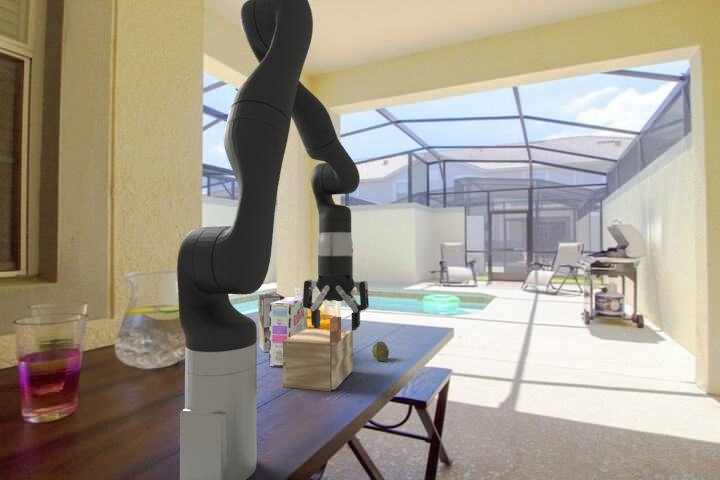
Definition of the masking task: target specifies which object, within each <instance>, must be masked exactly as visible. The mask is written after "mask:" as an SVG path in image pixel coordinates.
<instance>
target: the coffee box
mask: <svg viewBox="0 0 720 480" xmlns="http://www.w3.org/2000/svg"><path fill="white" fill-rule="evenodd" d="M257 299H258V303H257V304H258V308H257V309H258V312H257V313H258V315H257V316H258V330H257V331H258V333H257V335H258V336H257V337H258V338H257V341H258V343H257V347H258V348H259V349H260V350H261V351H262V352H263V353H269V334H270V333H269V332H270V330H269V328H270V303H273V302H276V301H280V300H283V299H285V296H284V295H281V294H278V293H267V294H258V297H257Z"/></svg>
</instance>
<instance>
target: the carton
mask: <svg viewBox="0 0 720 480" xmlns="http://www.w3.org/2000/svg"><path fill="white" fill-rule="evenodd" d="M347 331H348V330H346V329H344V330H342V329H341V336H342V335H343V334H344V333H346V332H347ZM282 387H283V388H292V389H302V390H304V389H306V390H313V391H327V392H331V391H332V390H333V389H331V343H330V329H325V328H324V329H321V328H307V329H305V330H303V331H301V332H299V333H297V334H295V335H293V336H291V337H289V338H288V339H286V340H284V341H283V367H282Z"/></svg>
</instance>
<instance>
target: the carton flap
mask: <svg viewBox="0 0 720 480" xmlns="http://www.w3.org/2000/svg"><path fill="white" fill-rule="evenodd" d="M329 330H330V343H331V389H332V390H334V391H335V390H336V389H337V388H338V387H339V386H340V385H341V384H342V383H343V381H345V379H347V377H348V376H349V375H350V374H351V373H352V372H353V370H354V343H353V342H354V340H353V339H354V336H353V335H354V332H353V331H354V330H352V329H348V330H346V331H347V332H346V333H344V334H343V335H342V336H341V330H342V316H333V317H331V318H330V319H329Z"/></svg>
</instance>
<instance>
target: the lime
mask: <svg viewBox="0 0 720 480" xmlns="http://www.w3.org/2000/svg"><path fill="white" fill-rule="evenodd" d="M371 352H372V353H371V354H372V356H373V357H374V358H375V359H376V360H378V361H380V362H386V361H387V360H388V358H389V355H390V352H389V348H388V345H387V344H386V343H385V342H384V341H377V342H375V344H374V345H373V346H372V349H371Z"/></svg>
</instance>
